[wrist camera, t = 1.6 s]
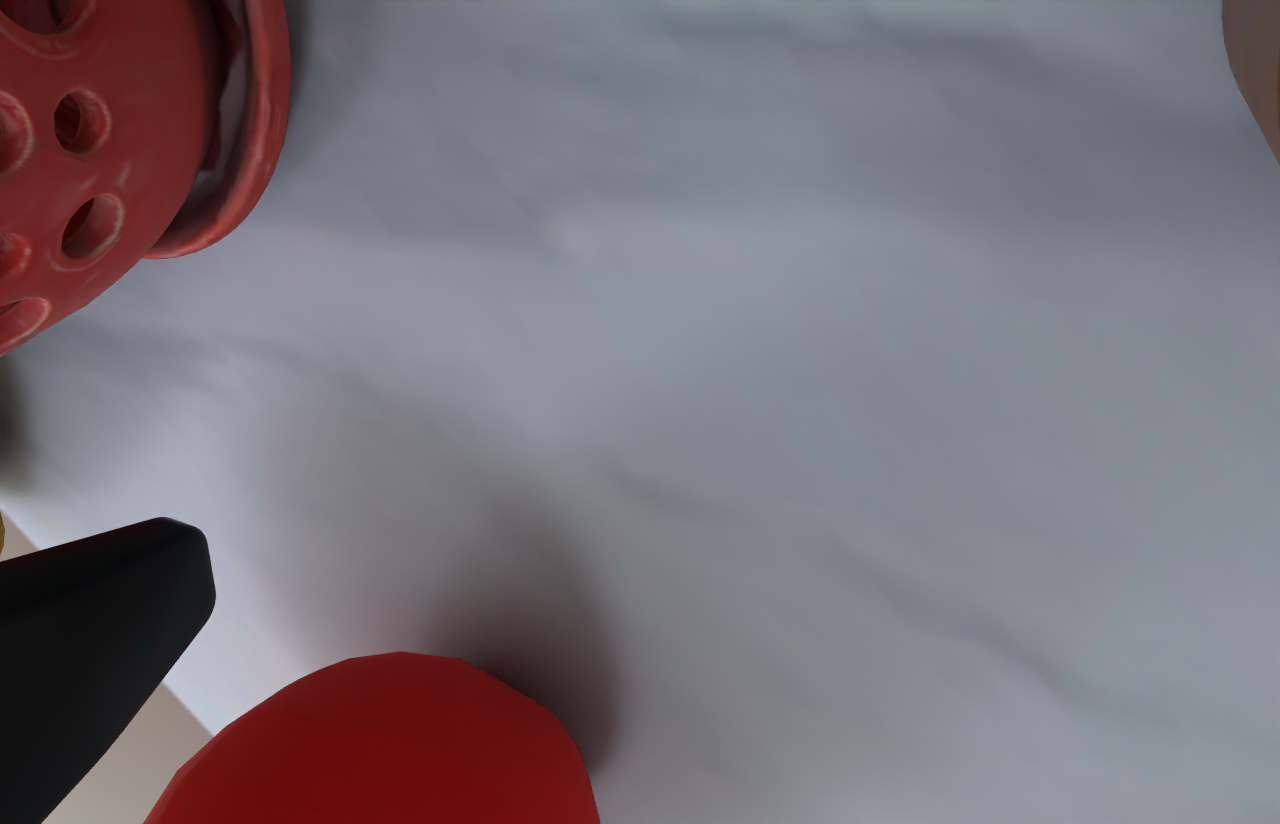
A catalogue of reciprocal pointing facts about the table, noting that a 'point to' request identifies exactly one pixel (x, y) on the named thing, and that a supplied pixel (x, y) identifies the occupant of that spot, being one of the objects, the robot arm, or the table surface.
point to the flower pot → (128, 139)
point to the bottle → (1256, 60)
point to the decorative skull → (1, 534)
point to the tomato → (387, 753)
